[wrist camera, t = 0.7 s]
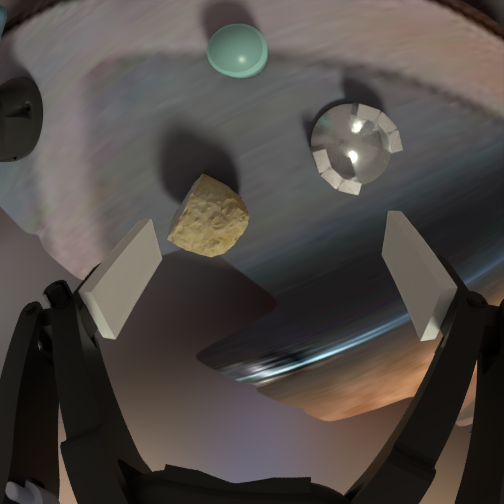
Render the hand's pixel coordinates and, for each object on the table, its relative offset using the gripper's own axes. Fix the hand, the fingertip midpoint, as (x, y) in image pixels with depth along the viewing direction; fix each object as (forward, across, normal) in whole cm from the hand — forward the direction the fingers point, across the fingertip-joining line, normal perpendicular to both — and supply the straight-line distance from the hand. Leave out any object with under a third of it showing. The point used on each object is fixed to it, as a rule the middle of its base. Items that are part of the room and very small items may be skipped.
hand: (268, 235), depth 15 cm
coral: (+22, -9, -7) cm, 24 cm away
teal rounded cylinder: (+21, -3, +12) cm, 25 cm away
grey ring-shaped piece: (+21, +10, +1) cm, 23 cm away
